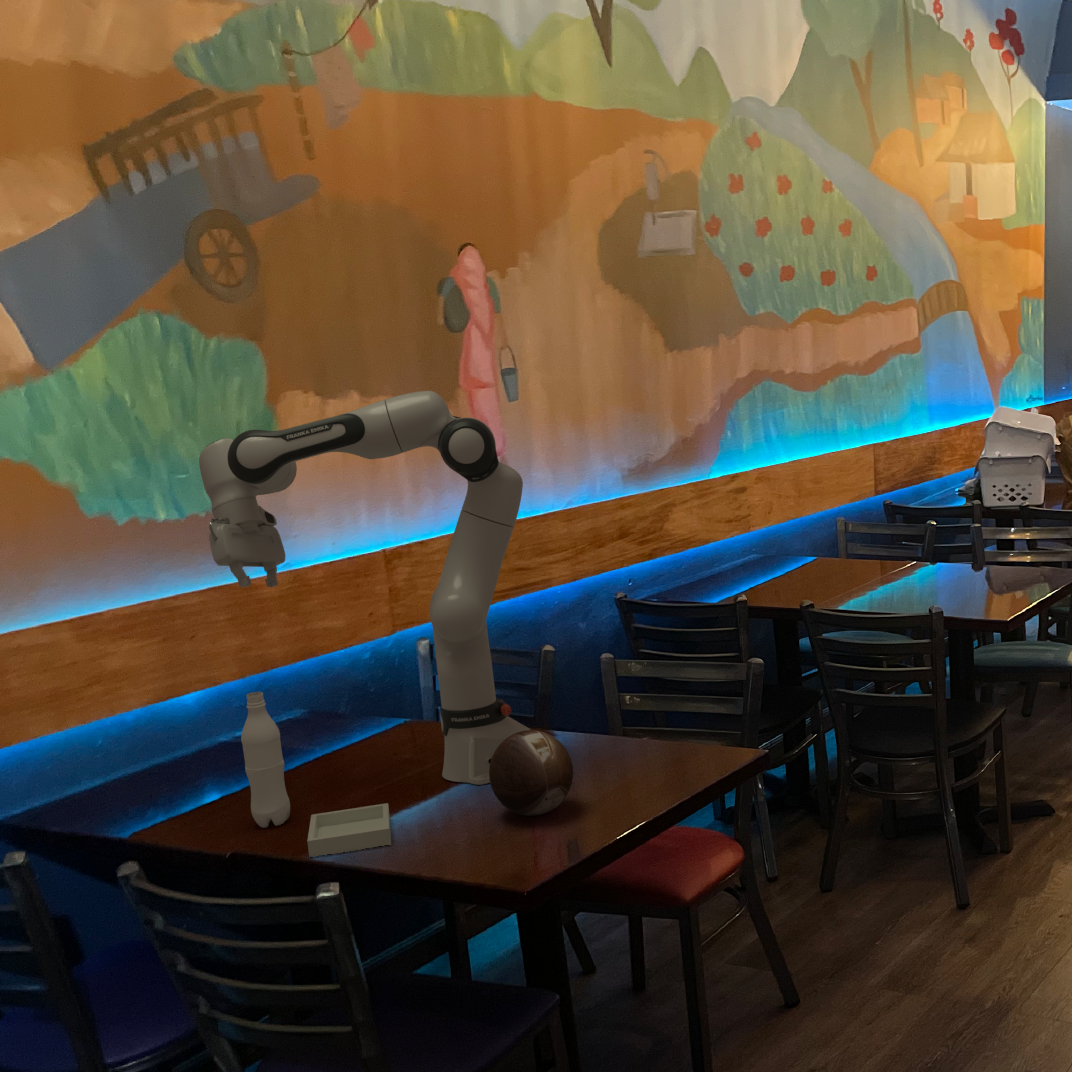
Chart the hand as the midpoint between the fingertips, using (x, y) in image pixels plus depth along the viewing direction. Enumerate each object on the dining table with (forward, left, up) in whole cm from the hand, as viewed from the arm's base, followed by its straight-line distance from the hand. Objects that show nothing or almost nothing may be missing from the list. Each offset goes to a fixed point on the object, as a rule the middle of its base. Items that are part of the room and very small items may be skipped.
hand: (259, 586), depth 234 cm
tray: (-13, +26, -43) cm, 52 cm away
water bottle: (+2, +11, -44) cm, 45 cm away
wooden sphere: (-46, +28, -44) cm, 69 cm away
